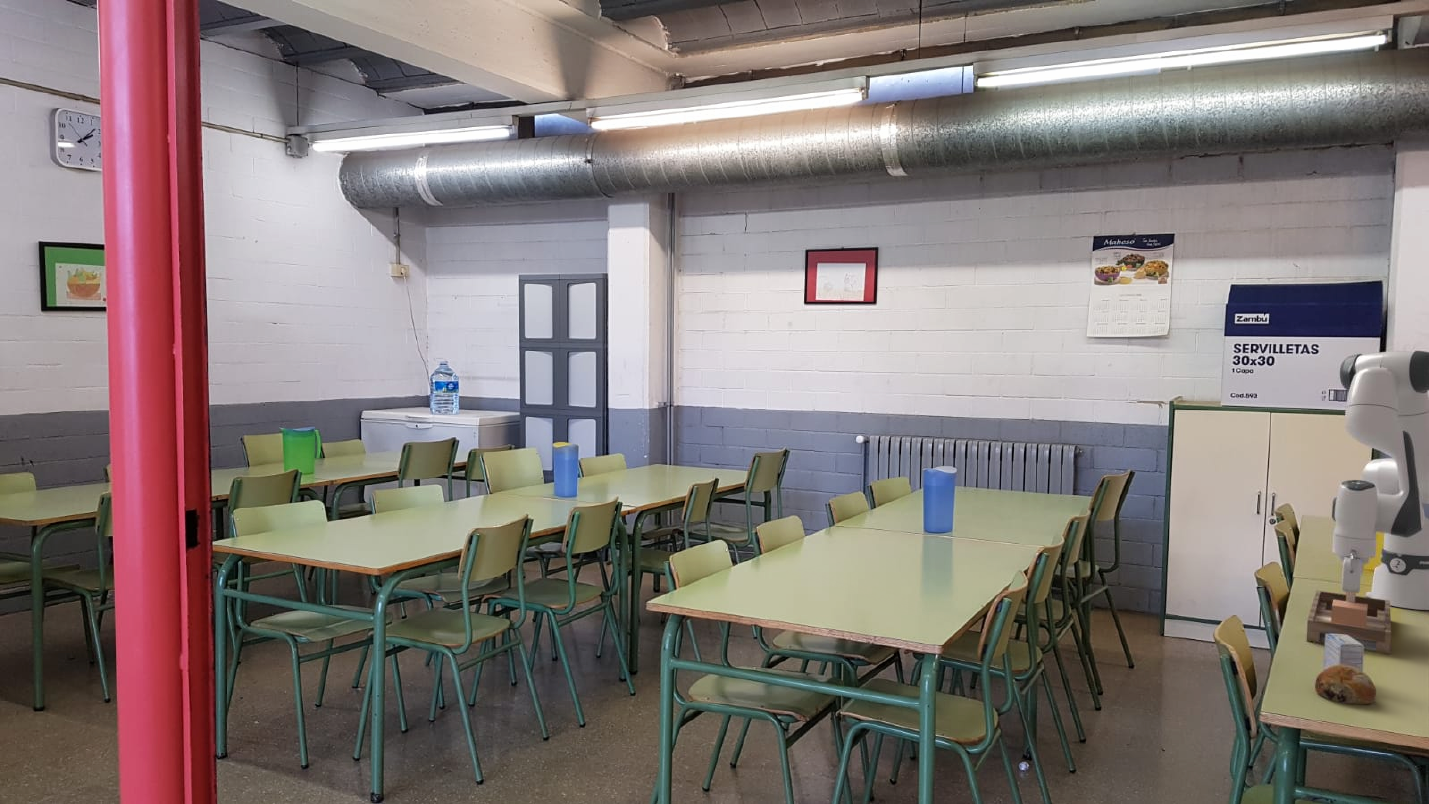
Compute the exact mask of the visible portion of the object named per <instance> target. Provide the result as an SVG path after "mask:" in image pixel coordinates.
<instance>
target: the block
mask: <svg viewBox="0 0 1429 804" xmlns="http://www.w3.org/2000/svg"><path fill="white" fill-rule="evenodd" d="M1367 606H1368V604H1361V603H1354V602H1347V601H1340V600H1333V603H1332V614H1331V622H1332V623H1339V624H1345V625H1352V626H1358V627H1365V628H1366V621H1367Z"/></svg>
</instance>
